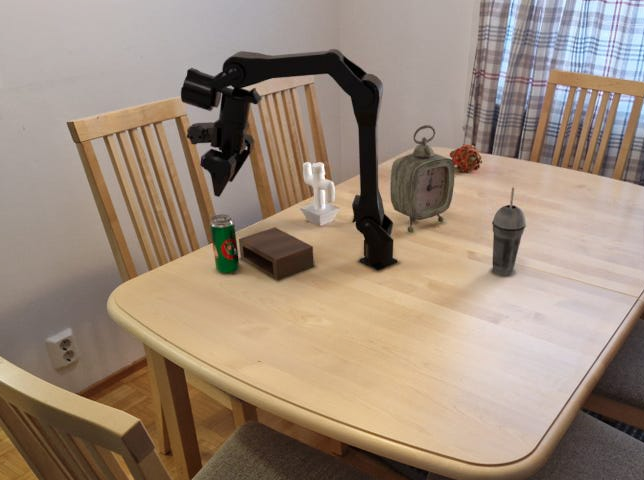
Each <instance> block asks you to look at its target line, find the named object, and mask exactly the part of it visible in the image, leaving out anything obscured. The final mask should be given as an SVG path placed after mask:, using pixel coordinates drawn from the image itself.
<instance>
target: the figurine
mask: <svg viewBox="0 0 644 480" xmlns="http://www.w3.org/2000/svg"><path fill="white" fill-rule="evenodd" d="M302 173H303V182H304V184H305V185H306V186H307V185H308V186H309V187H312V188H313V202H312V203H309V204H306V205H304V206H301V207H299V210H300V211H301V213H302V215H304V218H306V220H307V222H308V223H311V224H314V225H317V226H319V227H322V226H324V225H327V224H329V223H331V222H333V221H334V219H335V217H336V215H337V214H338V212H339V211H340V208H341V207H339V206H338V205H337V206H336V205H333V204H332V203H334V202H335V201H336V194H335V183H334V182H333V181H332V180H330V179H327V178H325V175H326V170H325V164H324V163H323V162H322V161H317V162H313V163H311V162H310V161H305V162H304V163H303V164H302Z"/></svg>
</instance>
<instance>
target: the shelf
mask: <svg viewBox="0 0 644 480" xmlns="http://www.w3.org/2000/svg"><path fill="white" fill-rule="evenodd" d="M238 244H239V245H238V246H239V252H240V254H239V255H240V260H242V261H244V262H245V263H247V264H248V265H250V266H253V267H254V268H255V269H257V270H259V271H261V272H262V273H264V274H266V275H267V276H269V277H270V278H272V279H274V280H276V281H281V280H282V279H285V278H289V277H291V276H294V275H296V274H299V273H301V272H304V271H306V270H309V269H311V268H314V267H315V263H314V246H313V245H311V244H309V243H307V242H305V241H303V240H301V239H299V238H297V237H296V236H293V235H291V234H289V233H287V232H285V231H283V230H282V229H280V228H278V227H276V226H274V227H271V228H268V229H265V230H262V231H259V232H256V233H252V234H249V235H247V236H243V237H240V238H238Z"/></svg>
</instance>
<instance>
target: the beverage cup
mask: <svg viewBox="0 0 644 480" xmlns="http://www.w3.org/2000/svg"><path fill="white" fill-rule="evenodd" d="M514 194H515V187H511V193H510V202H509V204H506V205H503V206H502V207H500V208H499V209H498V210H497V211H496V212H495V214H494V216H493V219H492V222H491V223H492V233H493V234H492V237H493V238H492V264H491V265H492V273H493V274H495V275H497V276H500V277H508V276H511V275H513V271H514V268H515V266H516V265H515V264H516V261H517V256H518V252H519V249H520V244H521V240H522V236H523V235H524V232H525V228H526V225H527V224H526V216H525V213H524V211H523V210H522V209H521V208H520V207H518V206H517V205H515V204H513V203H514Z"/></svg>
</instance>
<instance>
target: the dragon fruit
mask: <svg viewBox="0 0 644 480" xmlns="http://www.w3.org/2000/svg"><path fill="white" fill-rule="evenodd" d="M449 157H450V159H452V160H453V163H454V167H455V166H456V169H457V171H458V172H462V171H465V173H472V172H473V171H477V170H479V169H480V168H481V164H482V163H483V159H482V154H481V153H480V151H478V149H477V148H476V147H475V146H474V145H470V144H462V146H460V147H459V148H456V149H455V150H451V152H449Z"/></svg>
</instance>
